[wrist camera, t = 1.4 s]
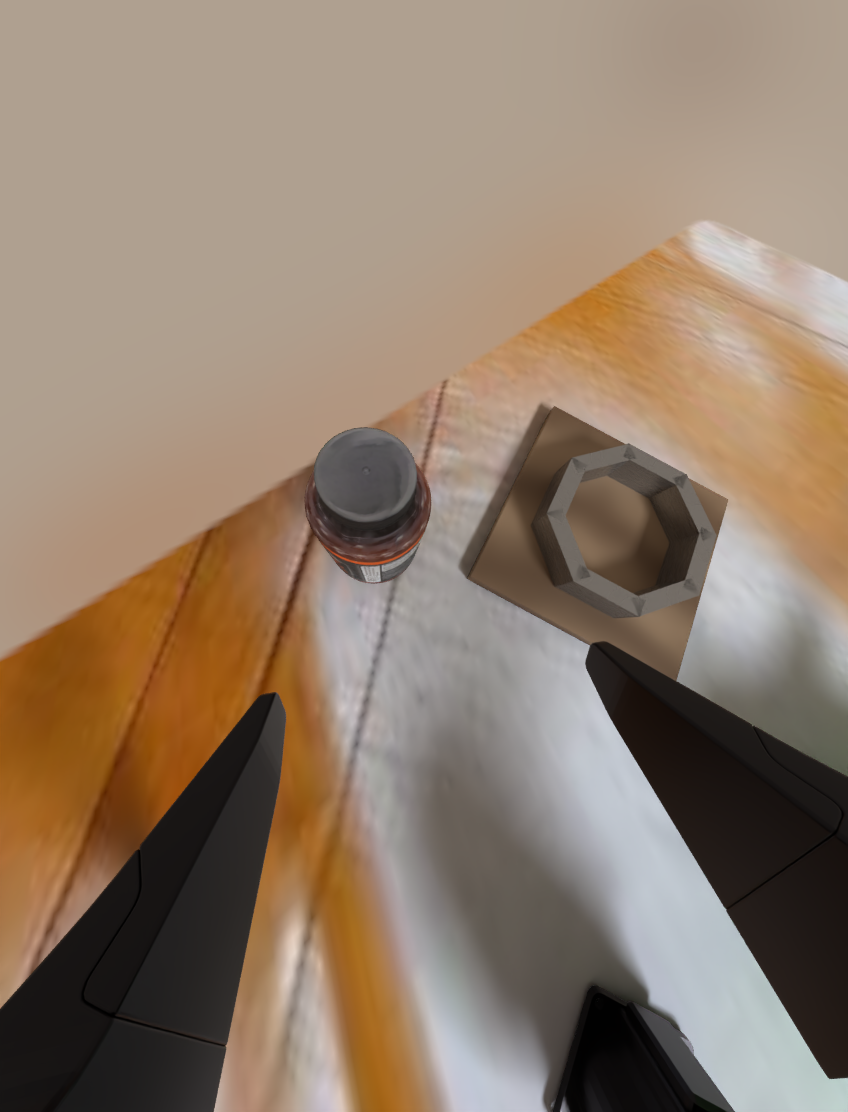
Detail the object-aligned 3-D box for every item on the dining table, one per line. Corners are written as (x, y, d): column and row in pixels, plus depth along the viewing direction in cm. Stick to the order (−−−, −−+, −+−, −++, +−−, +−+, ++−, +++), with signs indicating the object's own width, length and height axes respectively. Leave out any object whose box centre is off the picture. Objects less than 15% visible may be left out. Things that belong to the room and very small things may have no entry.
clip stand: (662, 684, 24) (674, 687, 23) (466, 578, 24) (470, 576, 23) (716, 504, 28) (728, 499, 27) (548, 414, 28) (554, 406, 27)
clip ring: (654, 641, 23) (686, 642, 21) (512, 564, 23) (526, 556, 21) (696, 509, 26) (728, 496, 24) (569, 440, 26) (587, 421, 24)
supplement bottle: (318, 525, 23) (258, 433, 12) (393, 492, 25) (399, 381, 14) (354, 600, 23) (325, 572, 12) (430, 562, 24) (469, 504, 13)
